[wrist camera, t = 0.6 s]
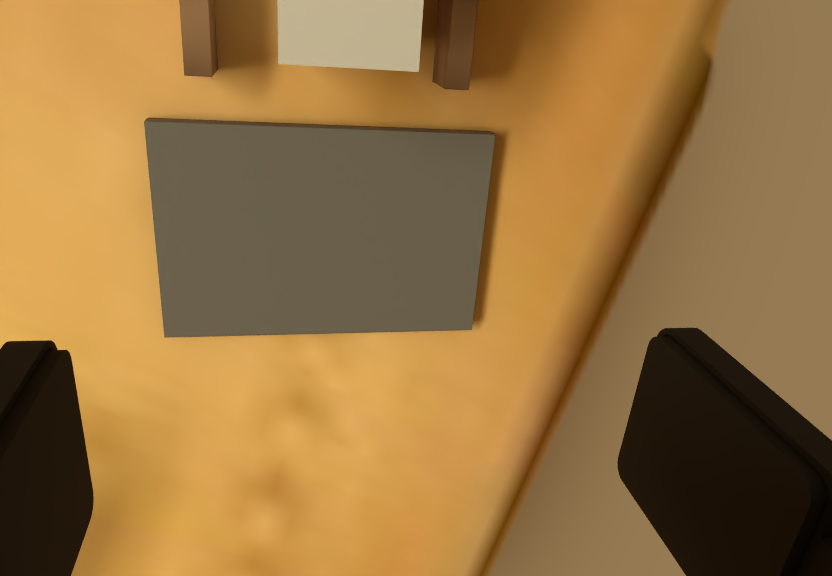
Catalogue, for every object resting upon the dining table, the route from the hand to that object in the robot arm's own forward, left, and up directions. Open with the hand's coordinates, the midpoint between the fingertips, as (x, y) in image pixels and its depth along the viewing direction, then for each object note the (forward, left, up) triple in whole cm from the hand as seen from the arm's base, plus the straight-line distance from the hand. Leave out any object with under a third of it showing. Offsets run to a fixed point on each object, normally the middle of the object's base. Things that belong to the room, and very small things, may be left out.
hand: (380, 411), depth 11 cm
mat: (+6, +1, -27) cm, 27 cm away
